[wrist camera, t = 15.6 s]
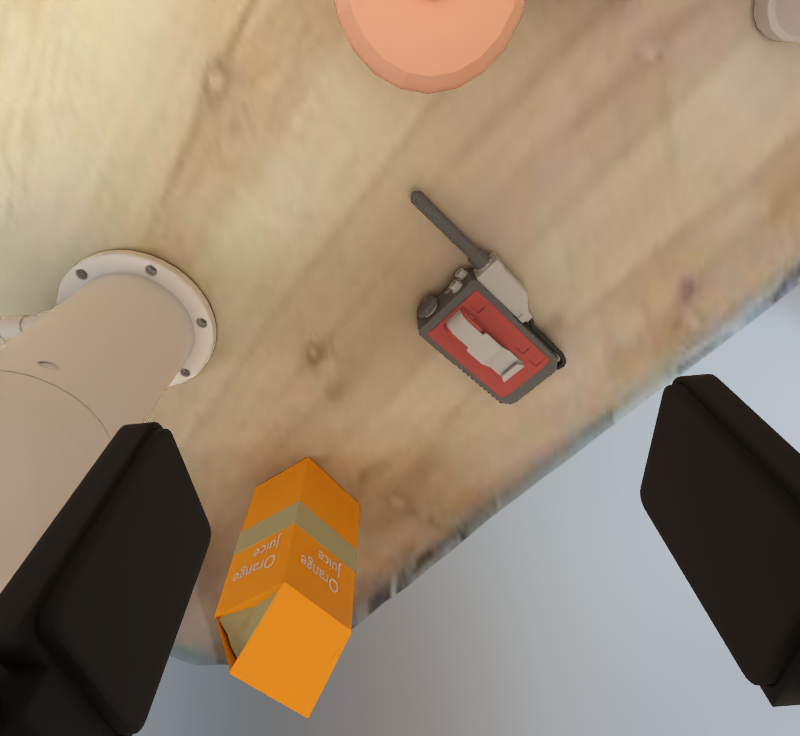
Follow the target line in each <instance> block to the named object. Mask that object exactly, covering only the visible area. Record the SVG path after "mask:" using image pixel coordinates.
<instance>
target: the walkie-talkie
mask: <svg viewBox="0 0 800 736" xmlns="http://www.w3.org/2000/svg"><path fill="white" fill-rule="evenodd" d="M411 202H412V203H413V204H414V205H415V206H416V207H417V208H418V209H419V210H420V211H421V212H422V213H423V214H424V215H425V216H426V217H427V218H428V219H429V220H430V221H431V222H432V223H433V224H434V225H436V226H437V227H438V228H439V229H440V230H441V231H442V232H443V233H444V234H445V235H446V236H447V237H448V238H449V239H450V240H451V241H452V242H453V243H454V244H455V245H456V246H457V247H458V248H459V249H460V250H461V251H462V252H463V253H464V254H465V255H466V256H467V257H468V260H469V262H470V263H471V264H473V265H474V266H475V267H476V268H475V269H474V270H469V269H467V270H464V269H462V268H460V269H458V270H457V272H456V273H455V276H456V277H457V279H456V280H454V281H453V282H452V283H451V284H450V286H449V287H448V288H447V289H446V290H445V291H443V292H442V293H441V294H440V295H439V296H438V297H435V296H434V295H431V296H429V297H427V298H426V299H424V300H423V301H422V303H421V304H420V306H419V307H418V309H417V315H418V316H417V321H418V330H419V335H420V336H421V337H423V338H424V339H425V340H426V341H427V342H428V343H430V344H431V345H432V346H433V347H434V348H436V349H437V350H438V351H439V352H440V353H442V354H443V355H444V356H445V357H446V358H447V359H449V360H450V361H451V362H452V363H453V364H455V365H457V366H458V368H459V369H462V370H463V372H465V373H467V375H468V376H470V377H471V379H472V380H473V379H474V380H475V382H476V383H478V384H479V385H480V386H481V387H483V388H484V390H487V392H488V393H490V394H491V395H492V397H495V398H496V400H499V402H500V403H505V404H513V403H515V402H517V401H518V400H519V399H521V398H522V397H523V396H524V395H526V394H527V393H528V392H530V391H531V390H532V389H534V388H535V387H536V386H537V385H539V384H540V383H541V382H543V381H544V380H545V379H546V378H548V377H549V376H550V375H552V374H553V373H554V372H555V370H558V369H560V368H562V367H564V366H565V364H566V358H565V356H564V354H563V353H562V352H561V351H560V350H559V349H558V348H557V347H556V346H555V345H554V344H553V343H552V342H551V341H550V340H549V339H548V338H547V337H546V336H545V335H544V334H543V333H542V332H541V331H540V330H539V329H538V328H537V327H536V326H535V324H534V320H533V315H532V313H531V312H530V310H529V309H528V294H527V290H526V289H525V287H524V285H523V284H522V283H521V282H520V281H519V280H518V279H517V278H516V277H515V276H514V275H513V273H512V272H511V271H510V270H509V269H508V268H507V267H506V266H505V265H504V264H503V263H502V261H501V259H500V258H499V256H497V255H496V254H495V253H494V252H492V253H491V254H490V255H489V256H488V255H487V254H486V253H485V252H484V251H483V250H482V249H481V248H477V247H476V246H475V245H474V244H473V243H472V242H471V241H470V240H469V239H468V238H467V237H466V236H465V235H464V234H463V233H462V232H461V231H460V230H459V229H458V228H457V227H456V226H455V225H454V224H453V223H452V222H451V221H450V220H449V219H448V218H447V217H446V216H445V215H444V214H443V213H442V212H441V211H440V210H439V209H438V208H437V207H436V206H435V205H434V204H433V203H432V202H431V201H430V200H429V199H428V198H427V197H426V196H425V195H424V194H423V193H422V192H421V191H414V192H413V193H412V194H411ZM525 321H527V322H528V321H529V324H528V323H527V322H525ZM555 353H556V354H557V355H558V356H559V357H560V361H559V362H557V360H558V358H557V356H556V354H555Z"/></svg>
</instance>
